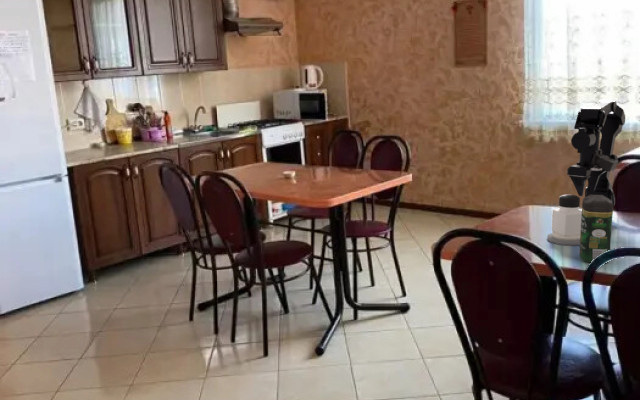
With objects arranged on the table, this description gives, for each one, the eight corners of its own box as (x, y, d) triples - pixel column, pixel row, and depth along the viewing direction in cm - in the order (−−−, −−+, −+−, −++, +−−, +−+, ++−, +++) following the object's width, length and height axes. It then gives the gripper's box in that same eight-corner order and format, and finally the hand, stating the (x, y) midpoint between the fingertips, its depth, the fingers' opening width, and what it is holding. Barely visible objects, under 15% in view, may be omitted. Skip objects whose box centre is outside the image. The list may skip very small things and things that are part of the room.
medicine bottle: (584, 234, 196) (587, 196, 193) (564, 236, 194) (566, 198, 192) (570, 228, 203) (572, 192, 200) (551, 230, 201) (552, 194, 198)
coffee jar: (577, 253, 185) (580, 192, 181) (606, 255, 183) (610, 193, 179) (580, 263, 176) (584, 199, 172) (611, 265, 174) (616, 200, 170)
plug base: (557, 233, 207) (557, 226, 206) (593, 239, 199) (594, 232, 198) (540, 241, 199) (540, 233, 198) (577, 247, 190) (578, 240, 190)
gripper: (603, 151, 190) (600, 201, 193) (626, 145, 202) (622, 192, 206) (567, 149, 197) (564, 197, 201) (591, 142, 210) (588, 188, 213)
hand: (586, 193), depth 205 cm, fingers open, 9 cm apart
